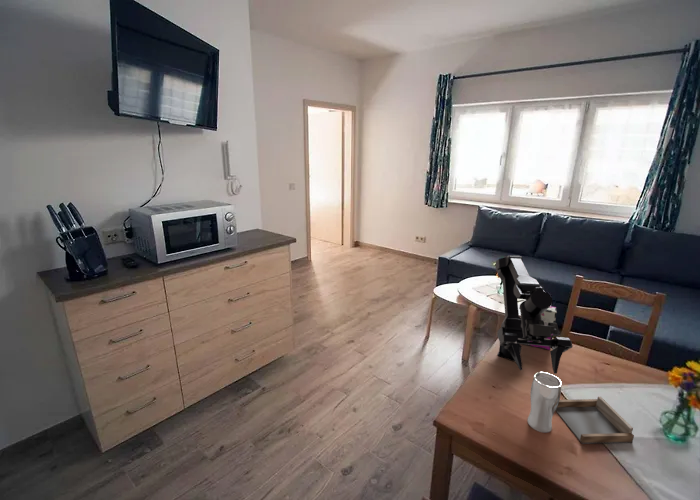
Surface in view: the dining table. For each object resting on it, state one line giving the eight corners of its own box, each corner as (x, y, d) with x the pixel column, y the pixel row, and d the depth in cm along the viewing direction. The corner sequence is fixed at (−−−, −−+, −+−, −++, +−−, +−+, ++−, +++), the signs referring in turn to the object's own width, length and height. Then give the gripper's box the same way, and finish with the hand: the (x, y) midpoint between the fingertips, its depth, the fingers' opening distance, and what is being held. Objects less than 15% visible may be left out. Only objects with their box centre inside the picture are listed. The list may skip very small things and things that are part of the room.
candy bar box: (550, 344, 134) (556, 306, 129) (550, 350, 129) (557, 312, 125) (518, 337, 139) (524, 301, 134) (518, 343, 134) (523, 306, 130)
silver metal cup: (546, 415, 98) (555, 372, 94) (558, 435, 92) (568, 389, 87) (521, 414, 99) (528, 370, 95) (531, 433, 92) (539, 387, 88)
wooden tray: (581, 443, 89) (584, 431, 88) (552, 406, 102) (554, 395, 100) (632, 442, 89) (635, 430, 88) (596, 405, 102) (598, 394, 101)
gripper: (506, 308, 100) (511, 363, 92) (575, 313, 96) (586, 370, 89) (497, 320, 109) (501, 370, 102) (560, 324, 106) (569, 376, 99)
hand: (538, 371), depth 98 cm, fingers open, 9 cm apart
